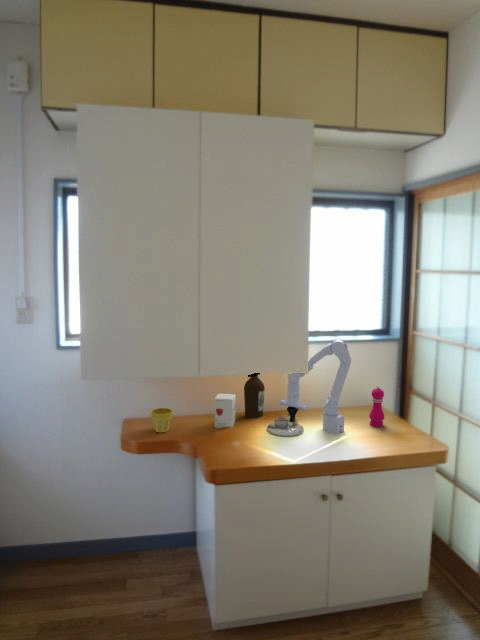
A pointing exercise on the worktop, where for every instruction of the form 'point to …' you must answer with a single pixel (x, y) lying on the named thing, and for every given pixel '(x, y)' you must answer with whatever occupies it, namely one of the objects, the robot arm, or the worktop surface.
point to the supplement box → (224, 410)
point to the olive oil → (254, 397)
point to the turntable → (286, 429)
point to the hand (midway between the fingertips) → (292, 421)
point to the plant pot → (161, 419)
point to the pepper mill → (377, 408)
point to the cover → (281, 422)
